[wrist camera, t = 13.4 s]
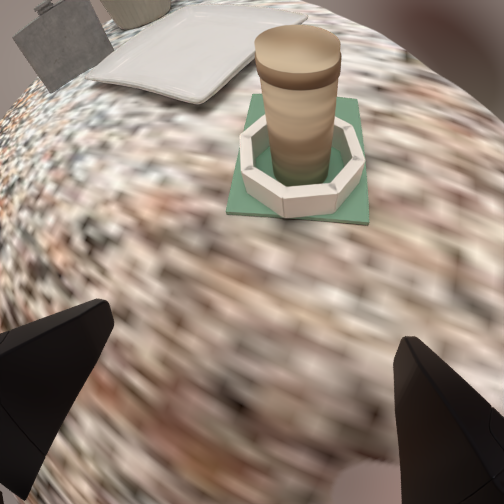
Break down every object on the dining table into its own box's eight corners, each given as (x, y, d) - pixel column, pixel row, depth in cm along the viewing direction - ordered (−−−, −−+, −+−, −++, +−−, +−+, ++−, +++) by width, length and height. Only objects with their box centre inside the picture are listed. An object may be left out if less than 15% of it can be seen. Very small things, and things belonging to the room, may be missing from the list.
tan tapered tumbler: (318, 200, 24) (328, 69, 12) (262, 180, 26) (236, 53, 14) (336, 156, 26) (350, 33, 14) (285, 140, 27) (273, 20, 15)
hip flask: (50, 97, 42) (4, 31, 24) (53, 87, 44) (11, 24, 26) (116, 58, 43) (78, -20, 24) (116, 51, 44) (81, -22, 26)
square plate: (90, 92, 39) (80, 76, 36) (191, 17, 46) (187, 2, 42) (206, 123, 31) (197, 98, 27) (311, 31, 38) (311, 12, 34)
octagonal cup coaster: (401, 222, 23) (414, 201, 20) (227, 239, 24) (217, 219, 21) (351, 90, 30) (353, 67, 27) (226, 100, 31) (220, 78, 28)
